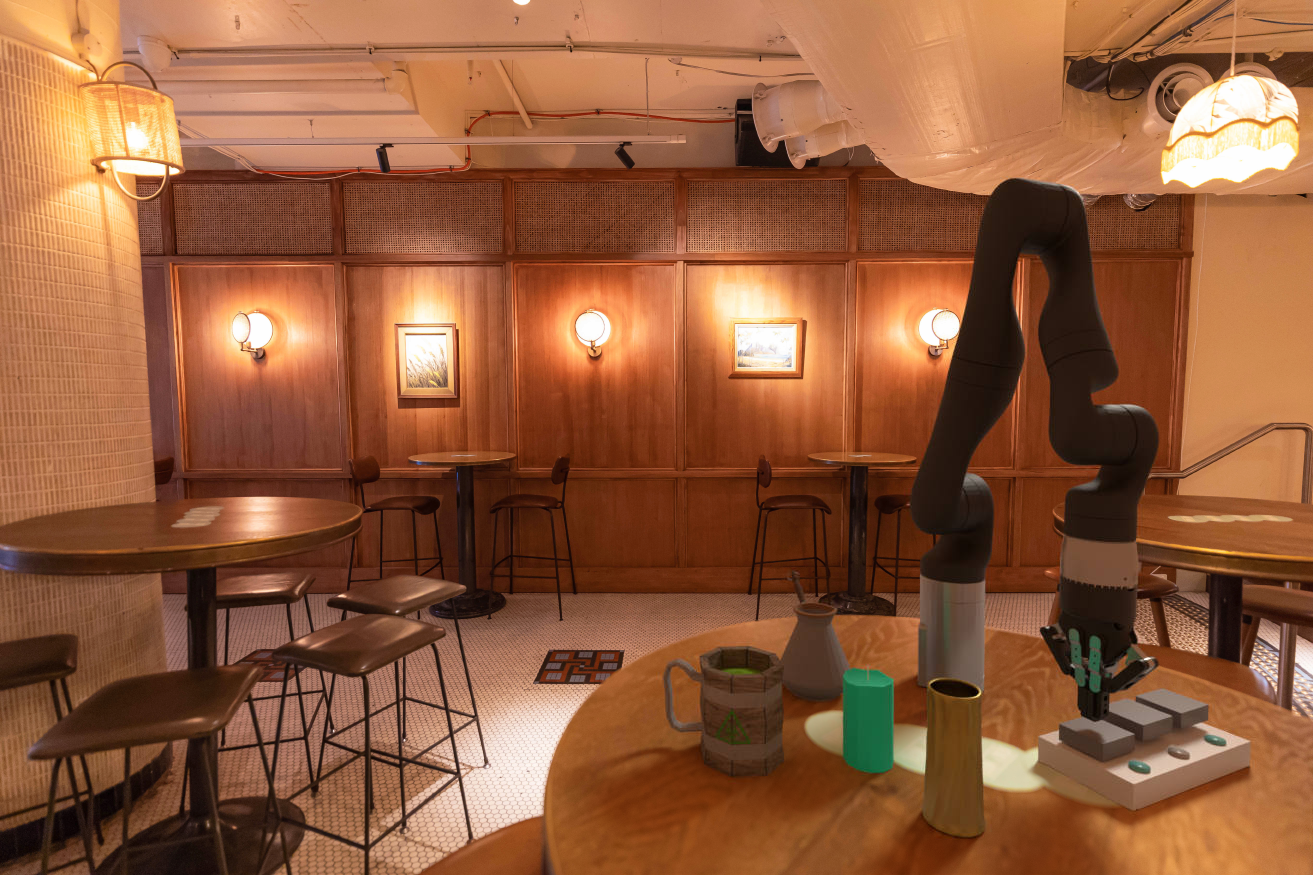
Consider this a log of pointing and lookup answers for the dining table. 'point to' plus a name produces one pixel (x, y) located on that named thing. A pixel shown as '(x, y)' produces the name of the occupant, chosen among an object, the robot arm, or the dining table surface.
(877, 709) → the candle
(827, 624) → the coffee pot
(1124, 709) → the middle key
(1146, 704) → the back key
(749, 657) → the mug
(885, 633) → the dining table surface
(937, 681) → the vase
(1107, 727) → the front key
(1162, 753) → the keypad
